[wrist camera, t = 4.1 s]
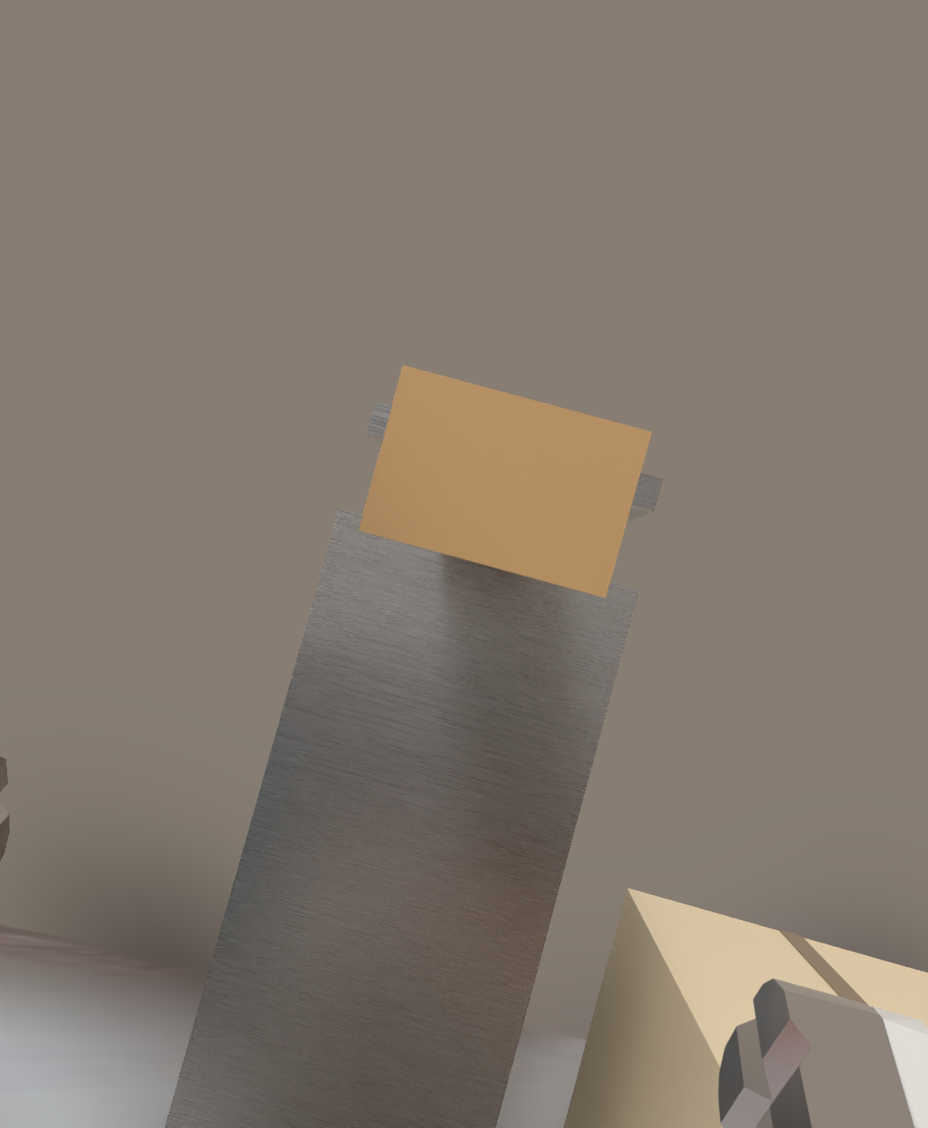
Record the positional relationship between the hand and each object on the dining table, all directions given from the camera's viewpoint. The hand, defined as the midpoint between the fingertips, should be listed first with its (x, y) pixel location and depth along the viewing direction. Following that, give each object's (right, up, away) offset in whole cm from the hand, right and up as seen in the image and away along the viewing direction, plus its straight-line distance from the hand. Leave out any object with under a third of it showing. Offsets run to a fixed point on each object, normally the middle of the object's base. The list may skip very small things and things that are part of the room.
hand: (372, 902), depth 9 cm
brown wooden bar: (+2, +4, +12) cm, 13 cm away
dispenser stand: (-5, -21, +21) cm, 30 cm away
